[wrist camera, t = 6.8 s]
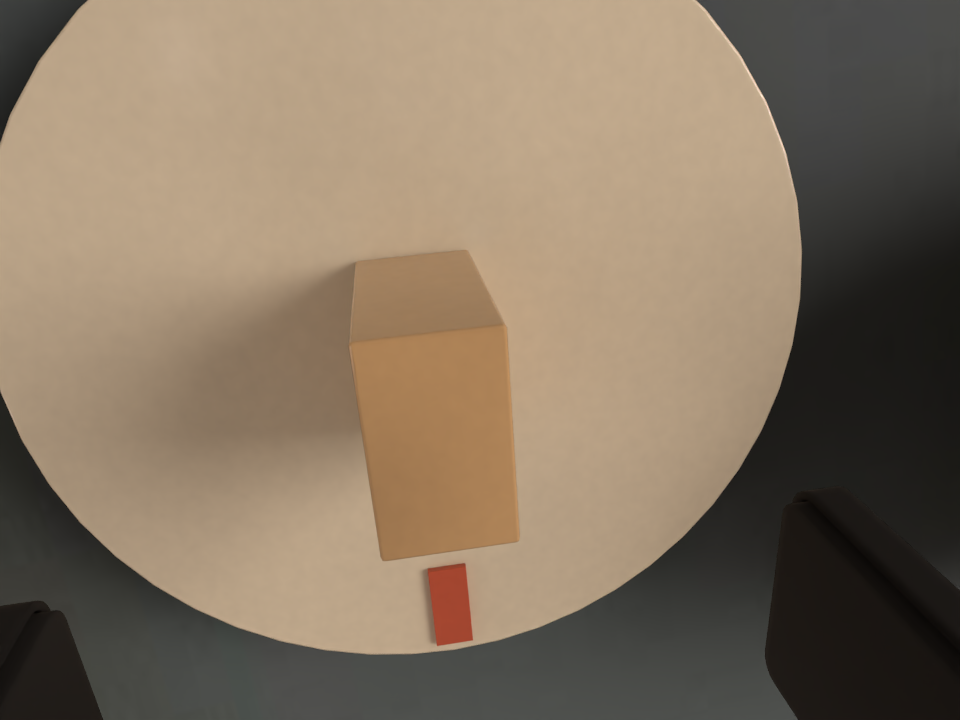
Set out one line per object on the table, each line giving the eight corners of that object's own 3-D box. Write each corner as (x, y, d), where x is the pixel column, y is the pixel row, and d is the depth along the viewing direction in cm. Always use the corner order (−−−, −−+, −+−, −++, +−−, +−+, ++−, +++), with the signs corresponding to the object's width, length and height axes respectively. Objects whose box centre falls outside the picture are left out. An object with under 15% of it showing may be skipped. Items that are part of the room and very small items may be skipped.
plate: (-148, -92, 16) (-507, -195, 9) (824, -145, 18) (1078, -258, 11) (121, 680, 24) (32, 905, 18) (756, 581, 26) (880, 750, 20)
